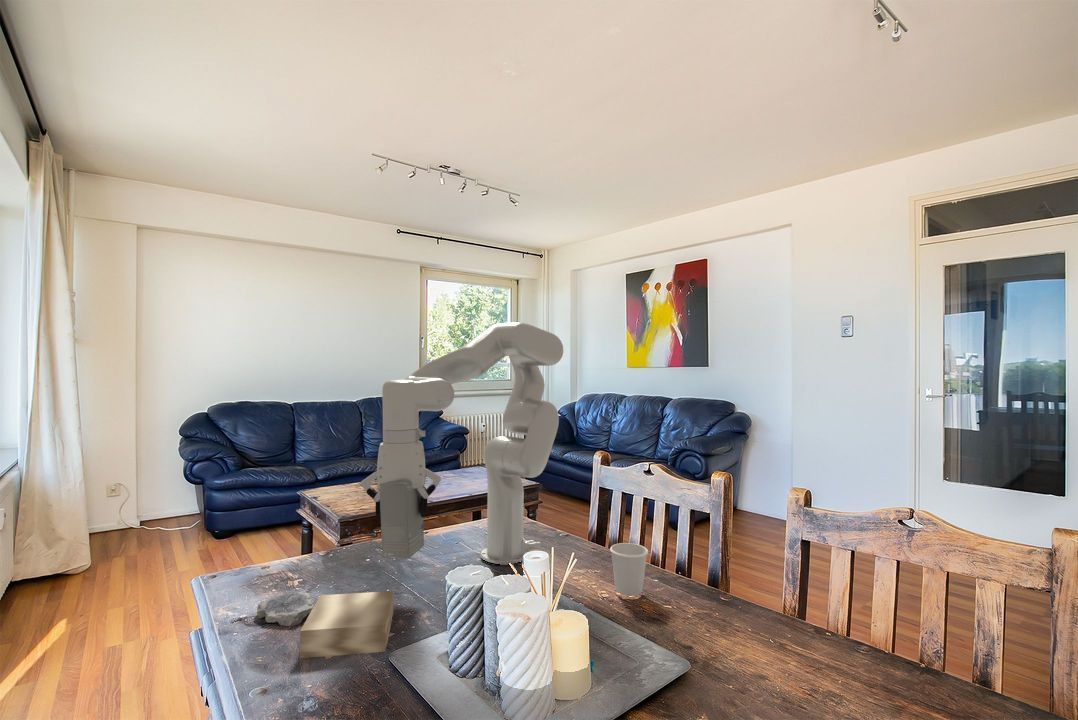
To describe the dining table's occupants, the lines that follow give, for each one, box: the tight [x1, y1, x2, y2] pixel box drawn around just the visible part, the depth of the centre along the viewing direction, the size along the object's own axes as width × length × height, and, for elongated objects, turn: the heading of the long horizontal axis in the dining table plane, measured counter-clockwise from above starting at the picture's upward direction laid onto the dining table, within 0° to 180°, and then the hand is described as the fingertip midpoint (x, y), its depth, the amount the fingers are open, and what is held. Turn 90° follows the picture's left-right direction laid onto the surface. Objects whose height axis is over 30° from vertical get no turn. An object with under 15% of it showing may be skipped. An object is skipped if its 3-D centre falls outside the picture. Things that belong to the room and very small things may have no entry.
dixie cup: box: [609, 542, 649, 596], centre depth 115 cm, size 8×8×10 cm
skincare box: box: [380, 482, 425, 560], centre depth 113 cm, size 8×7×16 cm
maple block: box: [299, 590, 395, 659], centre depth 96 cm, size 14×14×5 cm
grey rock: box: [256, 591, 315, 627], centre depth 104 cm, size 11×4×10 cm
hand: (402, 516), depth 113 cm, fingers closed on skincare box, 8 cm apart
